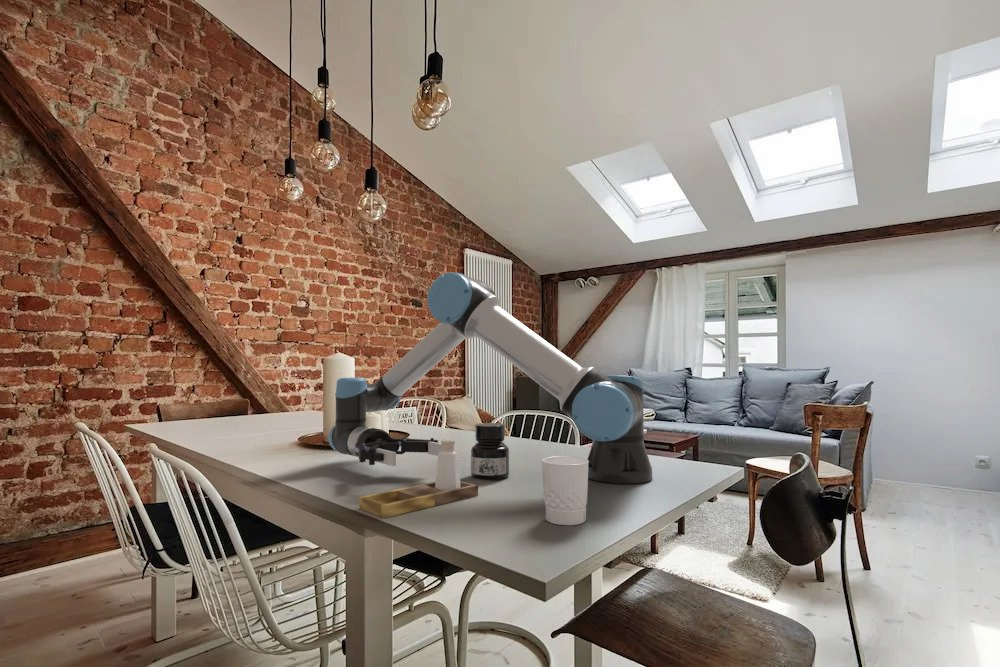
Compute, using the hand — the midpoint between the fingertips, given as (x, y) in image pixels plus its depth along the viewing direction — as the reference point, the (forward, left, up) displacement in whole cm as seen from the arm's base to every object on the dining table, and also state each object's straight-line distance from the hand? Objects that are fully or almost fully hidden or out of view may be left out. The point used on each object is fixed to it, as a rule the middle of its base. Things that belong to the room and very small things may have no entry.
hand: (422, 455), depth 112 cm
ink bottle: (-5, -17, -7) cm, 19 cm away
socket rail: (-8, +8, -7) cm, 13 cm away
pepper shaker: (-9, +1, -7) cm, 11 cm away
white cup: (-36, +2, -7) cm, 36 cm away
